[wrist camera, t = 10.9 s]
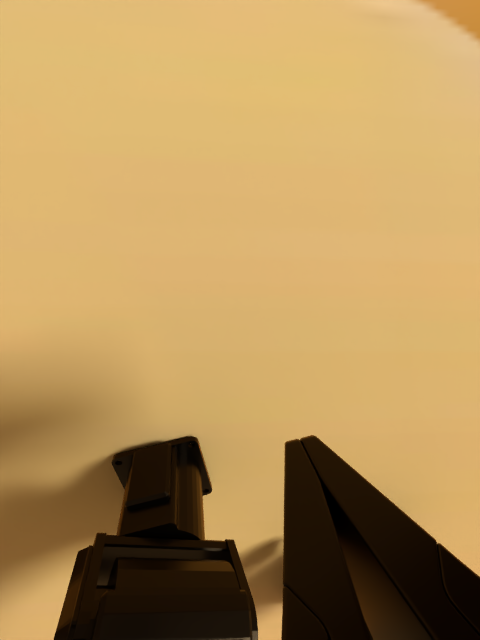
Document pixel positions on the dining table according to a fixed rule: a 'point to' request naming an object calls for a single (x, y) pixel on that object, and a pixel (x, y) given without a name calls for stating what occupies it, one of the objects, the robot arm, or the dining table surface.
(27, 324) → the dining table surface
